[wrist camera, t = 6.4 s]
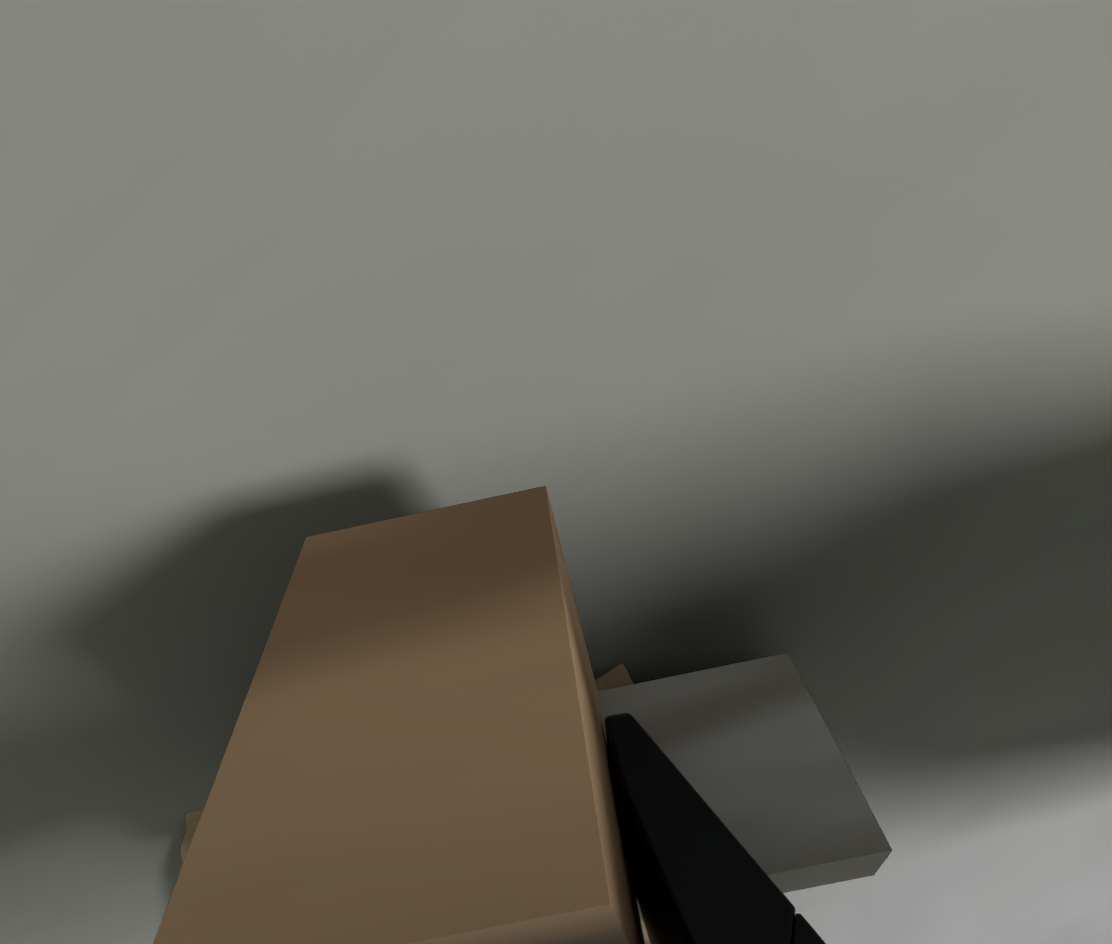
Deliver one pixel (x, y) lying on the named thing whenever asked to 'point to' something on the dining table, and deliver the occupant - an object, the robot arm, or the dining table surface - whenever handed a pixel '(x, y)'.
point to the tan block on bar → (481, 755)
